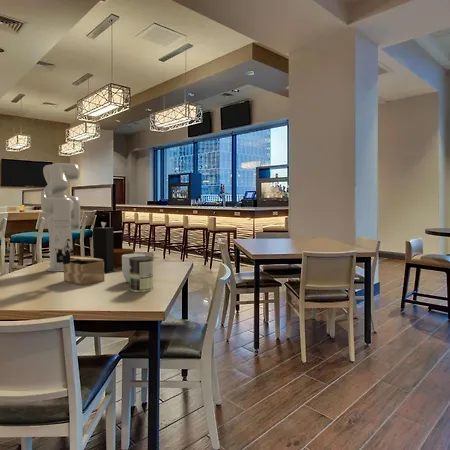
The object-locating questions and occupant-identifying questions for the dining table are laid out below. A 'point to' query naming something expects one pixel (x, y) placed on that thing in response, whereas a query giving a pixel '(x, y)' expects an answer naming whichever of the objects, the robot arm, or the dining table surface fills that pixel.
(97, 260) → the flap
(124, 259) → the mug
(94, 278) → the carton
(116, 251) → the brown block
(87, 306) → the dining table surface
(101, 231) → the tissue box
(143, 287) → the coffee can
